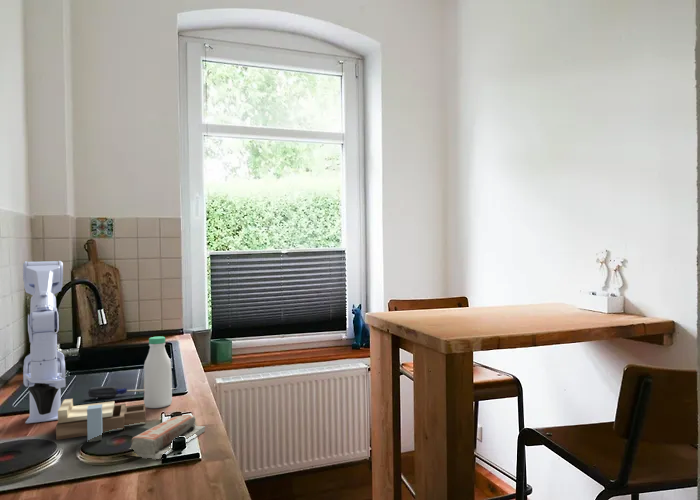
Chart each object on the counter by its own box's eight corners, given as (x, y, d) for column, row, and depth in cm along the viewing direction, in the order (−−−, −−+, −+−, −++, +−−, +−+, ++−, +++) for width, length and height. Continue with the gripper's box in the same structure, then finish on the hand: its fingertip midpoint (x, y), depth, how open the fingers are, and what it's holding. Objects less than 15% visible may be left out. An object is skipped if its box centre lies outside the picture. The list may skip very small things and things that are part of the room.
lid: (64, 410, 131) (64, 399, 131) (114, 404, 136) (114, 393, 136) (58, 423, 121) (57, 411, 121) (112, 416, 126) (112, 404, 126)
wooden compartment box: (63, 424, 132) (63, 411, 132) (145, 413, 139) (145, 401, 139) (56, 439, 120) (56, 425, 121) (145, 427, 128) (145, 414, 128)
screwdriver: (177, 388, 165) (176, 377, 165) (177, 391, 162) (177, 379, 162) (88, 398, 155) (88, 386, 155) (87, 401, 152) (87, 389, 152)
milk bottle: (177, 403, 148) (176, 336, 148) (154, 410, 142) (153, 340, 142) (161, 399, 152) (160, 334, 152) (138, 406, 146) (137, 338, 146)
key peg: (88, 438, 121) (88, 405, 121) (102, 436, 122) (102, 404, 122) (87, 442, 118) (87, 409, 118) (101, 441, 119) (101, 407, 119)
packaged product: (160, 440, 108) (121, 436, 110) (160, 462, 108) (122, 458, 110) (205, 413, 125) (171, 410, 128) (206, 432, 125) (171, 429, 128)
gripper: (77, 358, 124) (78, 412, 124) (43, 353, 131) (44, 404, 131) (48, 364, 118) (49, 421, 118) (14, 358, 125) (15, 412, 125)
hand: (44, 413), depth 124 cm, fingers closed
